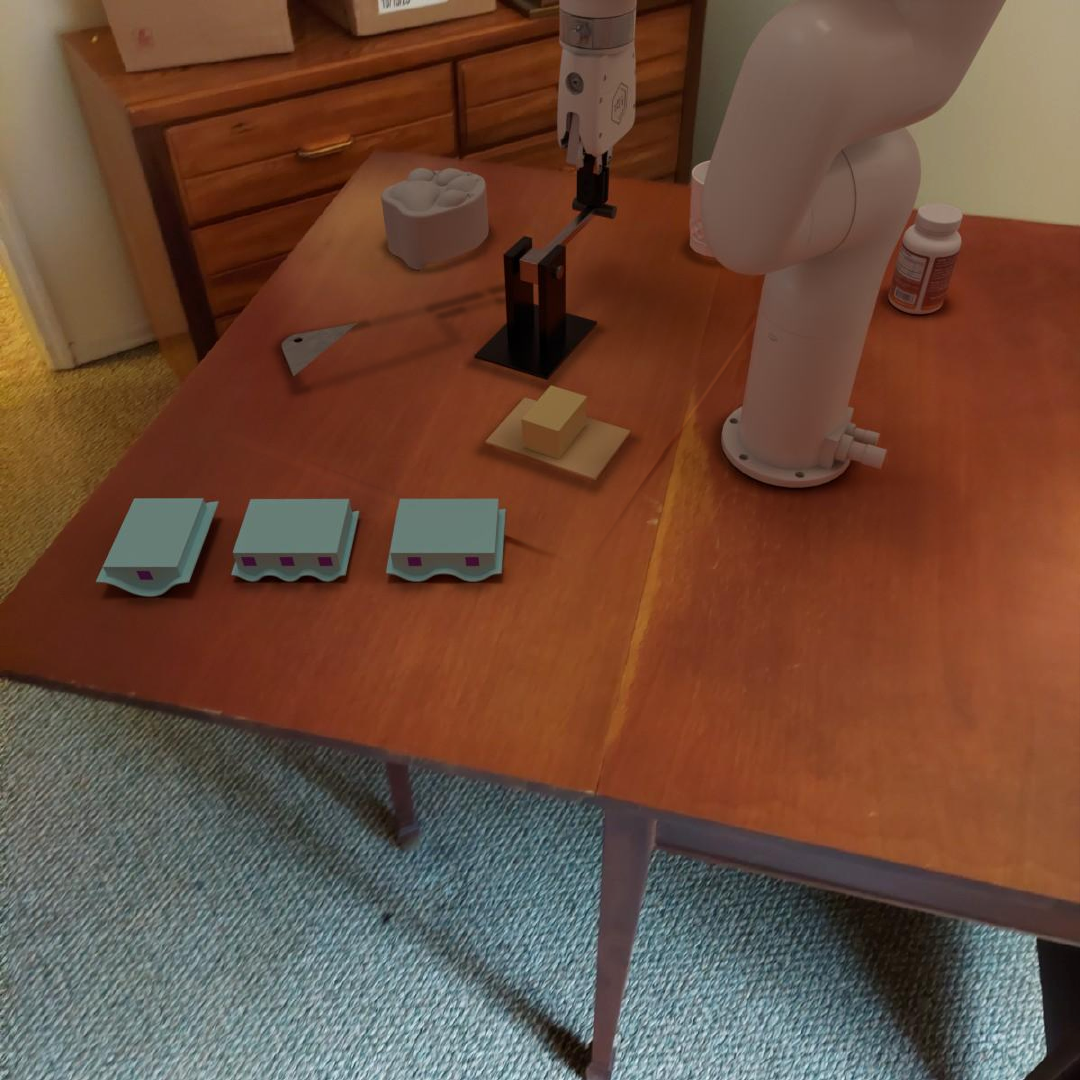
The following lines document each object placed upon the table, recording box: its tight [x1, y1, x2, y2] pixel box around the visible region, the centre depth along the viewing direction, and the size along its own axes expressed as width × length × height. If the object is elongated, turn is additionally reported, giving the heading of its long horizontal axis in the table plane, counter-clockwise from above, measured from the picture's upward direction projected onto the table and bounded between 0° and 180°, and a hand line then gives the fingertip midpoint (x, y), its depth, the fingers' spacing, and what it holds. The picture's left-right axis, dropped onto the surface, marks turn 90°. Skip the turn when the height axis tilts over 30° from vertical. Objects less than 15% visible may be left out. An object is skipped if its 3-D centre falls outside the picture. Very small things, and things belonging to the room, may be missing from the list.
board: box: [485, 396, 632, 482], centre depth 94 cm, size 12×8×1 cm, turn 62°
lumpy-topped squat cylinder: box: [380, 167, 490, 271], centre depth 120 cm, size 10×13×9 cm
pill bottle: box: [887, 202, 964, 315], centre depth 108 cm, size 6×6×11 cm
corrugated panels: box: [95, 497, 507, 598], centre depth 84 cm, size 34×3×10 cm
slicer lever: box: [519, 196, 618, 286], centre depth 104 cm, size 16×5×2 cm, turn 152°
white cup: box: [689, 160, 715, 258], centre depth 117 cm, size 8×8×10 cm
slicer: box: [474, 235, 598, 381], centre depth 102 cm, size 12×9×12 cm
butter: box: [521, 385, 588, 459], centre depth 93 cm, size 6×4×4 cm, turn 152°
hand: (592, 201), depth 108 cm, fingers closed
